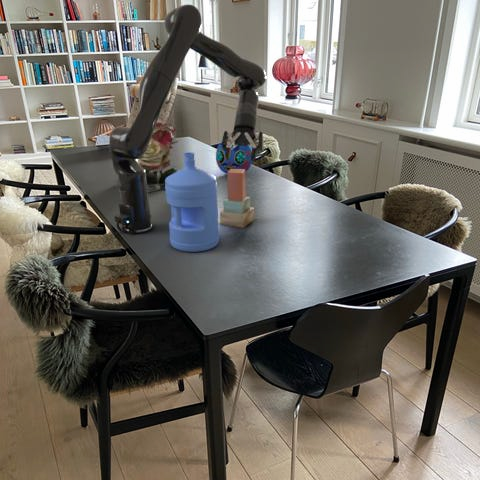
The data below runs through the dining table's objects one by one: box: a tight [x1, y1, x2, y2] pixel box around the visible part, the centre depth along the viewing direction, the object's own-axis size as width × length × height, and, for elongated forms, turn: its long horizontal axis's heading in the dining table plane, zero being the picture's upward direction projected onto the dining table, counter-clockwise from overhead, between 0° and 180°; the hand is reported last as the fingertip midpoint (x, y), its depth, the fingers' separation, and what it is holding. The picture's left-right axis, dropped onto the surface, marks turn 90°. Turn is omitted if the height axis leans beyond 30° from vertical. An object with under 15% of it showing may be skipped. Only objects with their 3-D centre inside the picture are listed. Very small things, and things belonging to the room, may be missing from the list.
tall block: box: [226, 169, 247, 201], centre depth 167 cm, size 5×5×10 cm
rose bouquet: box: [137, 115, 179, 193], centre depth 209 cm, size 26×29×30 cm
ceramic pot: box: [215, 138, 253, 175], centre depth 228 cm, size 18×18×15 cm
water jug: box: [164, 151, 220, 253], centre depth 149 cm, size 16×16×28 cm
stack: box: [219, 196, 255, 229], centre depth 171 cm, size 9×9×8 cm
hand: (240, 159), depth 168 cm, fingers open, 8 cm apart
